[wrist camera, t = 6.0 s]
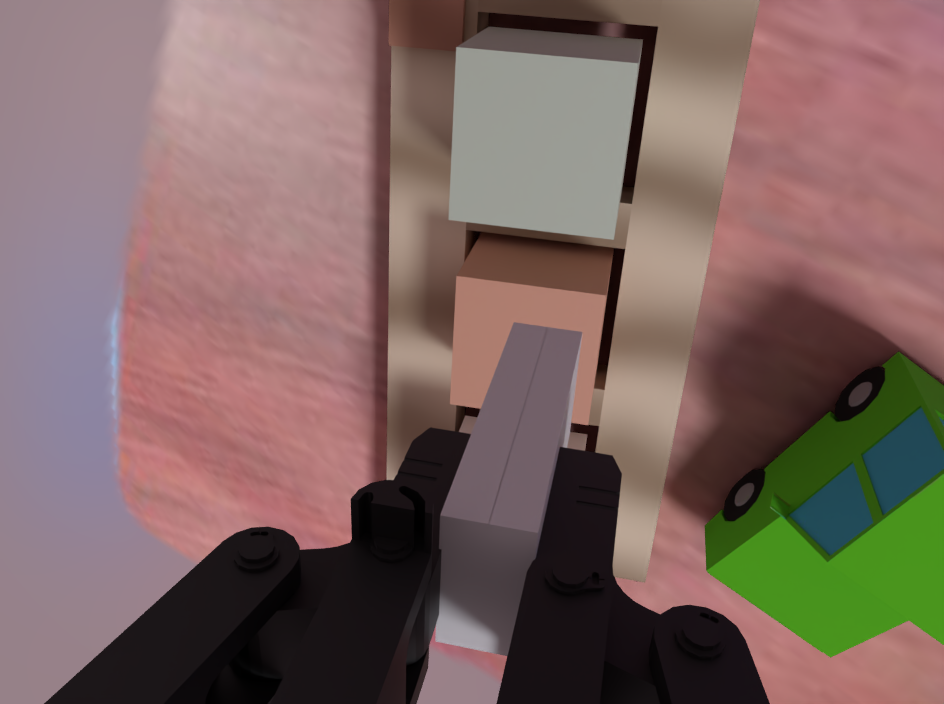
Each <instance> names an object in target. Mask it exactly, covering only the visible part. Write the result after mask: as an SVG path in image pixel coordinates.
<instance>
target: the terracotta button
mask: <svg viewBox="0 0 944 704" xmlns="http://www.w3.org/2000/svg"><path fill="white" fill-rule="evenodd" d="M613 251H614V248H612V247H604V246H596V245H588V244H579V243H571V242H563V241H555V240H547V239H538V238H530V237H522V236H514V235H506V234H497V233H489V232H482V233H481V235H480V236H479V238H478V240H477V241H476V243H475V245H474V247H473V248H472V250H471V252H470V253H469V255H468V257H467V259H466V260H465V262H464V264H463V265H462V267H461V269H460V271H459V272H458V274H457V276H456V293H455V313H454V333H453V352H452V372H451V392H450V404H453V405H460V406H466V407H473V408H479V409H481V407H482V404H483V402H484V399H485V396H486V394H487V391H488V388H489V386H490V383H491V381H492V378H493V375H494V373H495V370H496V368H497V365H498V362H499V360H500V357H501V354H502V352H503V349H504V347H505V344H506V341H507V339H508V336H509V333H510V331H511V328H512V326H513V323H514V322H516V323H523V324H530V325H537V326H544V327H551V328H558V329H565V330H572V331H579V332H582V340H581V348H580V356H579V364H578V372H577V380H576V388H575V396H574V403H573V411H572V419H571V423H577V424H583V425H588V423H589V416H590V410H591V403H592V397H593V390H594V384H595V377H596V371H597V364H598V358H599V351H600V344H601V336H602V329H603V322H604V315H605V308H606V301H607V294H608V287H609V280H610V273H611V266H612V258H613Z"/></svg>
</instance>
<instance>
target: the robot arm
mask: <svg viewBox="0 0 944 704" xmlns="http://www.w3.org/2000/svg"><path fill="white" fill-rule="evenodd" d="M581 340H582V332H579V331H572V330H565V329H558V328H551V327H544V326H537V325H530V324H523V323H516V322H514V323H513V326H512V328H511V331H510V333H509V336H508V339H507V341H506V344H505V347H504V349H503V352H502V354H501V357H500V360H499V362H498V365H497V368H496V370H495V373H494V375H493V378H492V381H491V383H490V386H489V388H488V391H487V394H486V396H485V399H484V402H483V404H482V407H481V409H480V412H479V415H478V417H477V420H476V423H475V425H474V428H473V430H472V433H471V434H468V433H462V432H456V431H450V430H444V429H438V428H432V427H430V428H429V429H427V430H426V431H425V432H423V433H422V434H421V435H419V436H418V437H417V438H415V439H414V440H413V441H412V443H411V445H410V447H409V449H408V451H407V453H406V455H405V457H404V461H403V462H402V464H401V466H400V468H399V470H398V474H397V475H396V476H395V478H394V480H384V481H379V482H374V483H371V484H369V485H367V486H365V487H363V488H361V489H359V490H358V491H357V492H356V494H355V495H354V496H353V497H352V498H351V523H352V540H351V542H350V543H348V544H344V545H341V546H338V547H332V548H324V549H307V550H300V547H299V545H298V543H297V542H296V540H295V538H294V537H293V536H291V535H290V534H288V533H287V532H285V531H284V530H281V529H276V528H271V527H255V528H249V529H246V530H243V531H240V532H237V533H235V534H234V535H232V536H230V537H229V538H227V539H226V540H224V541H223V542H222V543H221V544H220V545H219V546H218V547H216V548H215V549H214V550H213V551H212V552H211V553H210V554H209V555H208V556H206V557H205V558H204V559H203V560H202V561H201V562H200V563H199V564H198V565H197V566H195V568H193V569H192V570H191V571H190V572H189V573H188V574H187V575H186V576H185V577H183V578H182V579H181V580H180V581H179V582H178V583H177V584H176V585H175V586H173V587H172V588H171V589H170V590H169V591H168V592H167V593H166V594H165V595H163V596H162V597H161V598H160V599H159V600H158V601H157V602H156V603H155V604H154V605H153V606H152V607H150V608H149V609H148V610H147V611H146V612H145V613H144V614H143V615H141V616H140V617H139V618H138V619H137V620H136V621H135V622H134V623H133V624H132V625H131V626H129V627H128V628H127V629H126V630H125V631H124V632H123V633H122V634H121V635H119V636H118V637H117V638H116V639H115V640H114V641H113V642H112V643H111V644H110V645H108V646H107V647H106V648H105V649H104V650H103V651H102V652H101V653H100V654H99V655H98V656H96V657H95V658H94V659H93V660H92V661H91V662H90V663H89V664H87V665H86V666H85V667H84V668H83V669H82V670H81V671H80V672H79V673H77V674H76V675H75V676H74V677H73V678H72V679H71V680H70V681H69V682H68V683H66V684H65V685H64V686H63V687H62V688H61V689H60V690H59V691H58V692H57V693H55V694H54V695H53V696H52V697H51V698H50V699H49V700H48V701H47V702H46V703H44V704H416V703H417V700H418V697H419V694H420V691H421V688H422V685H423V682H424V678H425V675H426V672H427V669H428V659H429V644H430V641H431V638H432V635H433V631H434V628H435V625H436V641H437V642H441V643H446V644H451V645H456V646H461V647H466V648H471V649H476V650H480V651H485V652H490V653H495V654H500V655H505V656H507V661H506V665H505V669H504V674H503V678H502V683H501V687H500V691H499V696H498V700H497V704H770V703H769V700H768V698H767V695H766V693H765V690H764V687H763V685H762V682H761V680H760V677H759V674H758V672H757V669H756V666H755V664H754V661H753V659H752V656H751V653H750V651H749V648H748V645H747V643H746V640H745V639H744V637H743V635H742V634H741V632H740V631H739V629H738V627H737V626H736V625H735V624H733V623H732V622H731V621H730V620H728V619H727V618H726V617H725V616H724V615H722V614H720V613H717V612H715V611H713V610H711V609H708V608H706V607H699V606H693V605H684V606H677V607H672V608H671V609H669V610H667V611H665V612H664V613H662V614H661V615H660V614H658V613H656V612H654V611H651V610H649V609H647V608H645V607H643V606H642V605H640V604H638V603H636V602H635V601H633V600H632V599H631V598H630V597H628V596H627V595H626V594H625V593H624V592H623V591H622V589H621V588H620V587H619V585H618V584H617V582H616V580H615V577H614V575H613V556H614V547H615V537H616V527H617V518H618V508H619V498H620V489H621V479H622V473H621V471H620V469H619V467H618V465H617V463H616V461H615V459H614V457H613V455H607V454H601V453H595V452H589V451H583V450H577V449H571V448H567V445H568V440H569V435H570V427H571V419H572V411H573V403H574V396H575V388H576V380H577V372H578V364H579V356H580V348H581Z"/></svg>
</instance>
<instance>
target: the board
mask: <svg viewBox="0 0 944 704" xmlns="http://www.w3.org/2000/svg"><path fill="white" fill-rule="evenodd" d="M759 2H760V0H389V45H390V46H391V124H390V213H389V302H388V391H387V480H394V478H395V476H396V475H397V474H398V470H399V468H400V466H401V464H402V462H403V461H404V457H405V455H406V453H407V451H408V449H409V447H410V445H411V443H412V441H413V440H414V439H415V438H417V437H418V436H419V435H421V434H422V433H423V432H425V431H426V430H427V429H429V428H430V427H432V428H438V429H444V430H450V431H456V432H459V430H460V427H461V425H462V422H463V420H464V417H465V406H460V405H453V404H450V392H451V372H452V352H453V333H454V313H455V293H456V276H457V274H458V272H459V271H460V269H461V267H462V265H463V264H464V262H465V260H466V259H467V257H468V255H469V253H470V252H471V250H472V248H473V247H474V245H475V235H476V231H481V232H489V233H497V234H506V235H514V236H522V237H530V238H538V239H547V240H555V241H563V242H571V243H579V244H588V245H596V246H604V247H612V248H620V249H625V253H624V259H623V266H622V273H621V280H620V287H619V293H618V300H617V307H616V314H615V320H614V327H613V334H612V341H611V348H610V354H609V361H608V365H601V364H597V371H596V377H595V384H594V390H593V397H592V403H591V410H590V416H589V423H588V425H595V426H599V429H598V436H597V442H596V449H595V453H601V454H607V455H613V457H614V459H615V461H616V463H617V465H618V467H619V469H620V471H621V473H622V479H621V489H620V498H619V508H618V518H617V527H616V537H615V547H614V556H613V575H614V577H617V578H623V579H629V580H634V581H640V582H645V580H646V575H647V570H648V565H649V560H650V555H651V550H652V545H653V540H654V535H655V529H656V524H657V519H658V514H659V509H660V504H661V499H662V494H663V489H664V484H665V479H666V474H667V469H668V463H669V458H670V453H671V448H672V443H673V438H674V433H675V428H676V423H677V418H678V413H679V408H680V403H681V398H682V392H683V387H684V382H685V377H686V372H687V367H688V362H689V357H690V352H691V347H692V342H693V337H694V332H695V326H696V321H697V316H698V311H699V306H700V301H701V296H702V291H703V286H704V281H705V276H706V271H707V266H708V261H709V255H710V250H711V245H712V240H713V235H714V230H715V225H716V220H717V215H718V210H719V205H720V200H721V195H722V189H723V184H724V179H725V174H726V169H727V164H728V159H729V154H730V149H731V144H732V139H733V134H734V129H735V123H736V118H737V113H738V108H739V103H740V98H741V93H742V88H743V83H744V78H745V73H746V68H747V63H748V58H749V52H750V47H751V42H752V37H753V32H754V27H755V22H756V17H757V12H758V7H759ZM489 13H501V14H513V15H525V16H537V17H549V18H561V19H573V20H585V21H598V22H610V23H622V24H634V25H646V26H658V29H657V36H656V43H655V49H654V56H653V63H652V70H651V76H650V83H649V90H648V97H647V104H646V110H645V117H644V124H643V131H642V137H641V144H640V151H639V158H638V165H637V171H636V178H635V185H634V187H625V186H622V193H621V199H620V205H619V211H618V217H617V223H616V229H615V235H614V240H611V239H603V238H595V237H586V236H578V235H570V234H561V233H553V232H545V231H537V230H528V229H520V228H512V227H503V226H495V225H487V224H479V223H470V222H462V221H454V220H449V199H450V177H451V154H452V132H453V110H454V87H455V65H456V47H457V46H459V45H460V44H462V43H464V42H465V41H467V40H468V39H470V38H472V37H473V36H475V35H476V34H478V33H480V32H481V31H483V30H484V29H486V28H488V21H489Z"/></svg>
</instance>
